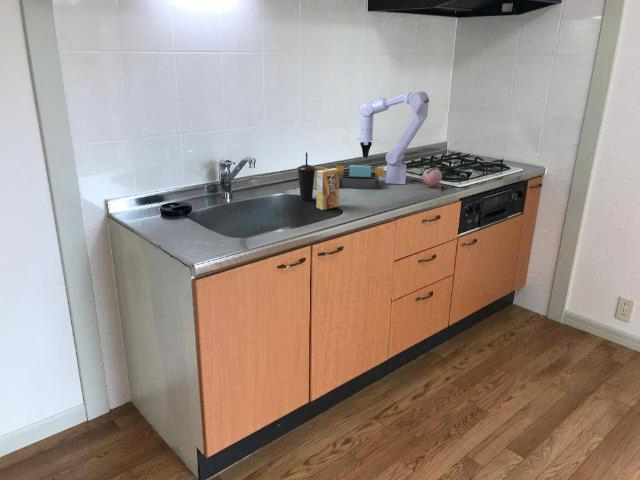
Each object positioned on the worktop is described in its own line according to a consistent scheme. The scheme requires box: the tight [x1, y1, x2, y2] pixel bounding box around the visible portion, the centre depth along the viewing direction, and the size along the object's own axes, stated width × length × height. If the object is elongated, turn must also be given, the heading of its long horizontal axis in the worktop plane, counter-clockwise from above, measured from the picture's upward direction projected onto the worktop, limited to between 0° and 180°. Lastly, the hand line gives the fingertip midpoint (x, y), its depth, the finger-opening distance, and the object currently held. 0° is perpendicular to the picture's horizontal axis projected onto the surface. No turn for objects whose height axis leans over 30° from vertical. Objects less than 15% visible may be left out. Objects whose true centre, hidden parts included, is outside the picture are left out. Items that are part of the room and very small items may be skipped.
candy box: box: [316, 167, 340, 211], centre depth 207 cm, size 9×4×15 cm, turn 129°
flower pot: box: [313, 166, 328, 190], centre depth 237 cm, size 9×9×9 cm
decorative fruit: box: [422, 166, 443, 188], centre depth 241 cm, size 9×8×10 cm
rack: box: [335, 165, 384, 191], centre depth 243 cm, size 22×15×8 cm
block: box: [348, 164, 372, 177], centre depth 243 cm, size 10×2×8 cm, turn 85°
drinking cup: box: [296, 151, 316, 202], centre depth 217 cm, size 8×8×20 cm
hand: (365, 157), depth 254 cm, fingers closed
